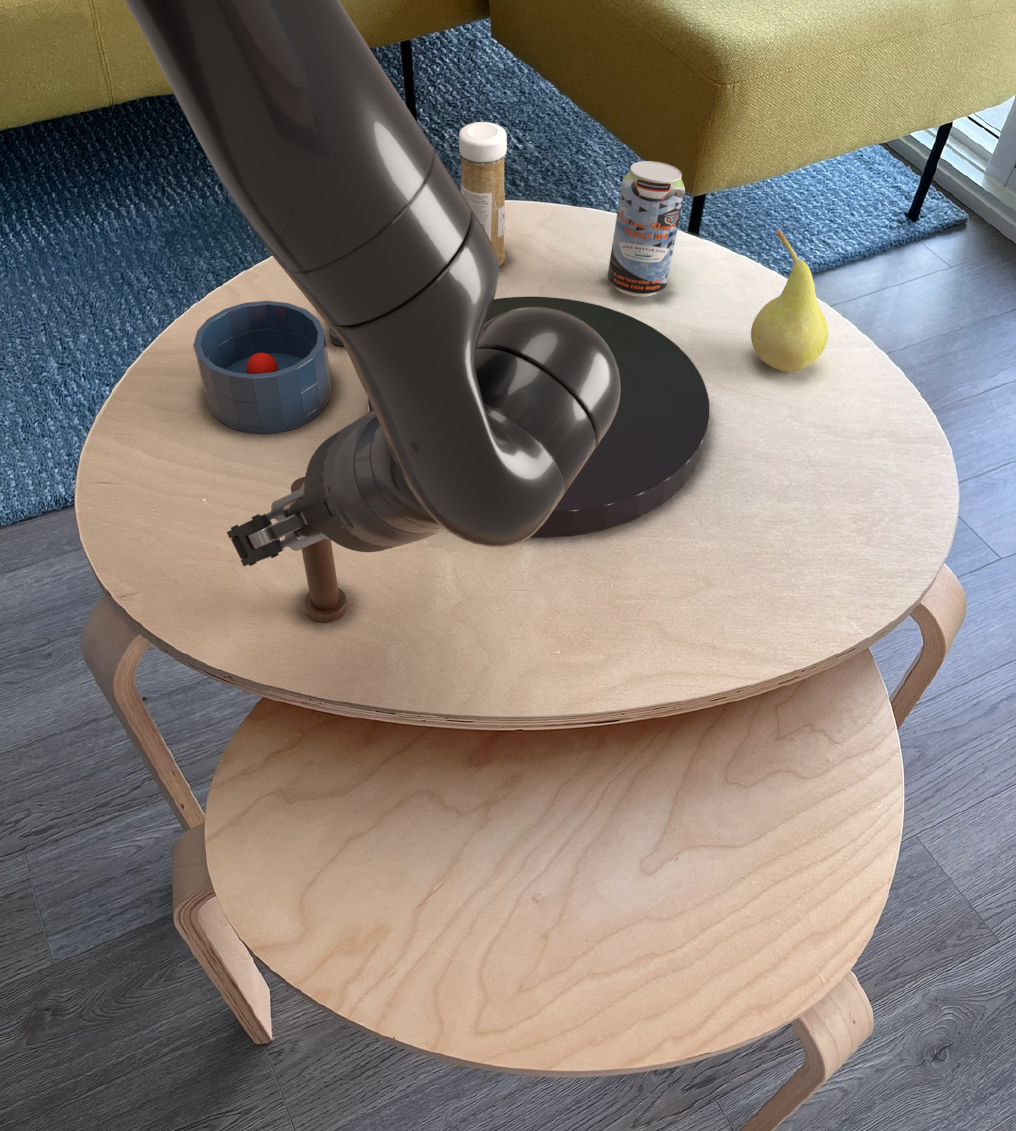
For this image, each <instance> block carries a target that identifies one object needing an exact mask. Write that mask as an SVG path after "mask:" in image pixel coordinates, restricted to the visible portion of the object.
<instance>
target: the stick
mask: <svg viewBox="0 0 1016 1131" xmlns="http://www.w3.org/2000/svg"><path fill="white" fill-rule="evenodd" d="M303 483H305V476H301V477H298V478H296V479H295V480H294V481H293V482H292V483H291V486H290V494H291V493H293V492H295V491H297V490H299V489H301V487H302V485H303ZM303 498H304V497H302V498H300V499H298V500H296V501H299V500H301V499H303ZM296 501H295V502H296ZM317 533H318V532H317ZM332 544H333V543H332V540H327V539H323V540H321V541H319V542H316V543H314V544H312V545H309V546H307V547H305V548H302V549H301V554H302V559H303V566H304V571H305V577H306V582H307V588H308V593H307V594H306V595H305V598H304V608H305V612H306V614H307V616H308V617H309V618H310V619H311V620H313V621H315V622H319V623H332V622H335V621H338V620H339V619H341V618H342V617H343V616H344V615H345V613H346V612H347V609H348V600H347V596H346V593H345V592H344V591H343V590H342V589H341V588H340V587H339V583H338V577H337V570H336V564H335V558H334V550H333V545H332Z"/></svg>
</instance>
